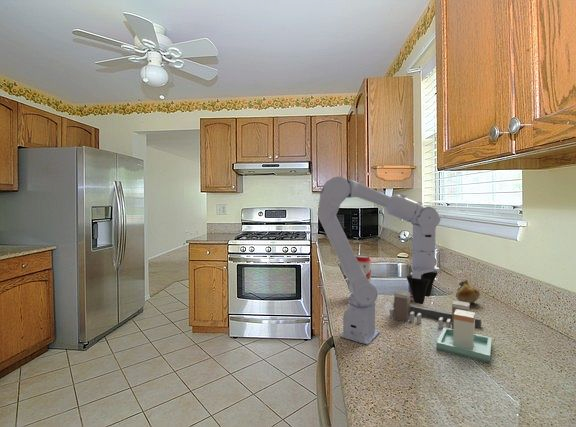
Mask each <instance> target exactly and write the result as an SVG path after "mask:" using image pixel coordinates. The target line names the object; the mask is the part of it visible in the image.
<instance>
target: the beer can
mask: <svg viewBox="0 0 576 427" xmlns="http://www.w3.org/2000/svg"><path fill="white" fill-rule="evenodd" d="M355 256H356V258H357V260H358V263H359V265H360V267H361V269H362V270H363V272H364V274H365V275H366V277H367V279H368V280H369V282H370V283H371V284H372V260H371V258H370V255H367V254H355Z"/></svg>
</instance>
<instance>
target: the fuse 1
mask: <svg viewBox="0 0 576 427" xmlns="http://www.w3.org/2000/svg"><path fill="white" fill-rule="evenodd" d="M393 297H394V298H393V300H394V301H393V303H394V317H393V319H394V320H397V321H402V322H405V323H407V322H408V321H410V305H411V300H410V293H409V292H408V291H402V290H397V291H395V292H394V294H393Z"/></svg>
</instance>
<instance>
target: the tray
mask: <svg viewBox="0 0 576 427" xmlns="http://www.w3.org/2000/svg"><path fill="white" fill-rule="evenodd" d="M453 332H454V329H452V328H446V326H443V327H442V330H441V332H440V334H439V337H438V339H437V341H436V345H435V346H436V348H435V349H436V350H437V351H441V352H445V353H449V354H453V355H456V356H460V357H463V358H467V357H469V358H468V359H472V360H476V361H480V362H484V363H487V364H490V363H491V357H492V356H491V355H492V345H493V338H492V337H490V336H487V335H481V334H477V333H475V337H474V347H473V350H471V349H467V348H463V347H459V346H455V345H453Z"/></svg>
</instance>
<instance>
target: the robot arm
mask: <svg viewBox="0 0 576 427" xmlns="http://www.w3.org/2000/svg"><path fill="white" fill-rule="evenodd" d="M319 192H320V193H319V200H318V206H317V212H316V213H317V217H318V220H319V222H320V224H321V226H322V228H323V229H324V230H323V231H324V233H325V235H326V236H327V239H328V241H329V243H330V245H331V247H332V249H333V251H334V253H335V256H336V258H337V259H338V261H339V263H340V266H341V268H342V270H343V271H344V275H345V277H346V279H347V289H348V291H349V293H350V295H349V298H347V302H348V306H347V308H346V310H344V313H343V316H342V317H343V319H342V320H343V322H342V324H343V328H342V333H340V334H339V337H340V338H342V339H347V340H351V341H353V342H357V343H361V344H364V345H369V344H371V342H372V341H374V339H375V338H376V337H377V336H379V334H380V332H381V330H380V329H376V300H377V298H378V289H377V288H376V287H375V285H373V283H372V282H371V283H370V282H369V280H368V279H367V277H366V275H365V274H364V272H363V270H362V269H361V267H360V265H359V263H358V260H357V258H356V254H355V252H354V250H353V248H352V246H351V244H350V242H349V240H348V238H347V235H346V233H345V231H344V229H343V227H342V225H341V223H340V221H339V219H338V216H337V214H338V212H339V209H340V207H341V204H343V202H344V201H345V200H346V199H349V198H351V199H352V198H360V199H362V200H365V201H367V202H370V203H373V204H376V205H378V206H381V207H384V209H385V210H386V213H387V214H388V215H390V216H392V217H395V218H398V219H400V220H403V221H405V222H408V223H410V224H411V225H412V237H411V238H412V239H411V240H412V244H411V248H412V249H411V250H412V251H411V253H412V254H411V265H410V269H411V273H412V275H410V274H408V275H407V276H406V280H407V283H408V282H409V284H410V287H411V290H412V294H413V299H414V301H413V303H415V304H419V305H424V303H425V302H424V301H425V298H426V297H427V298H430V296H431V294H432V290H433V284H434V282H435V279H436V277H437V275H438V273H439V272H440V269H441V268H440V267H437V266H435V265H436V228H437V227H438V226H439V224H440V221H441V217H440V216H439V212H438V211H437V210H436V208H434V207H432V206H423V202H421V201H417V202H416V201H414V200H412V199H409V198H407V195H405V194H403V193H401V194H397V193H396V194H394V195H392V196H389V195H388V194H385V193H383V192H381V191H378V190H376V189H373V187H370V186H367V185H365V184H363V183H361V182H358V181H356V180H352V179H346V178H344V177H342V176H334V177H332V178H330V179H329V180H326V182H324V184H323V186H322V188H321V190H320V191H319Z"/></svg>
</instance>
